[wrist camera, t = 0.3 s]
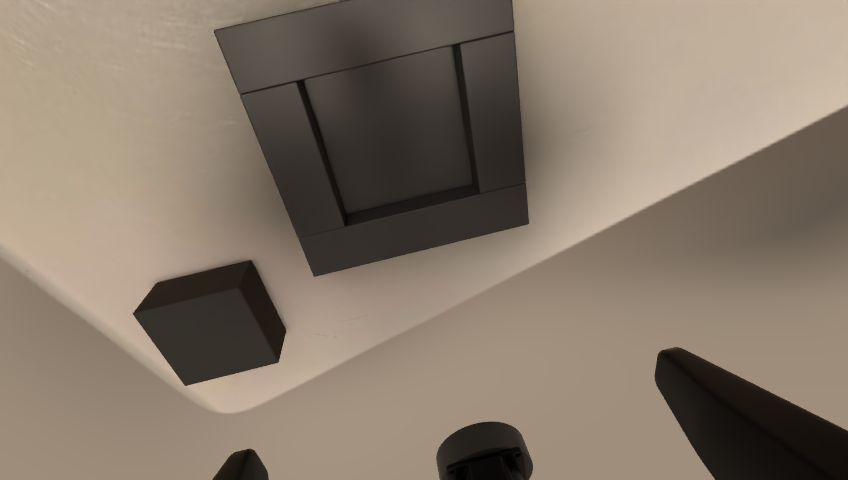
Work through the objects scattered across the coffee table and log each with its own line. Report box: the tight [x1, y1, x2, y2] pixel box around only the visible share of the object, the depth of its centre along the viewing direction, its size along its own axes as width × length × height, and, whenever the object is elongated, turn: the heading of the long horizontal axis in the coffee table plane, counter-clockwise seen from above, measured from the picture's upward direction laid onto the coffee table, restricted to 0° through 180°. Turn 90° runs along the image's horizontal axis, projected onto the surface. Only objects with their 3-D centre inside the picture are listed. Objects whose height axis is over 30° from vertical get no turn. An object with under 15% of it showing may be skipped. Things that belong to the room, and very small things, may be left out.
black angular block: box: [133, 261, 286, 386], centre depth 23 cm, size 6×6×3 cm
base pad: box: [214, 0, 529, 277], centre depth 20 cm, size 12×12×2 cm
